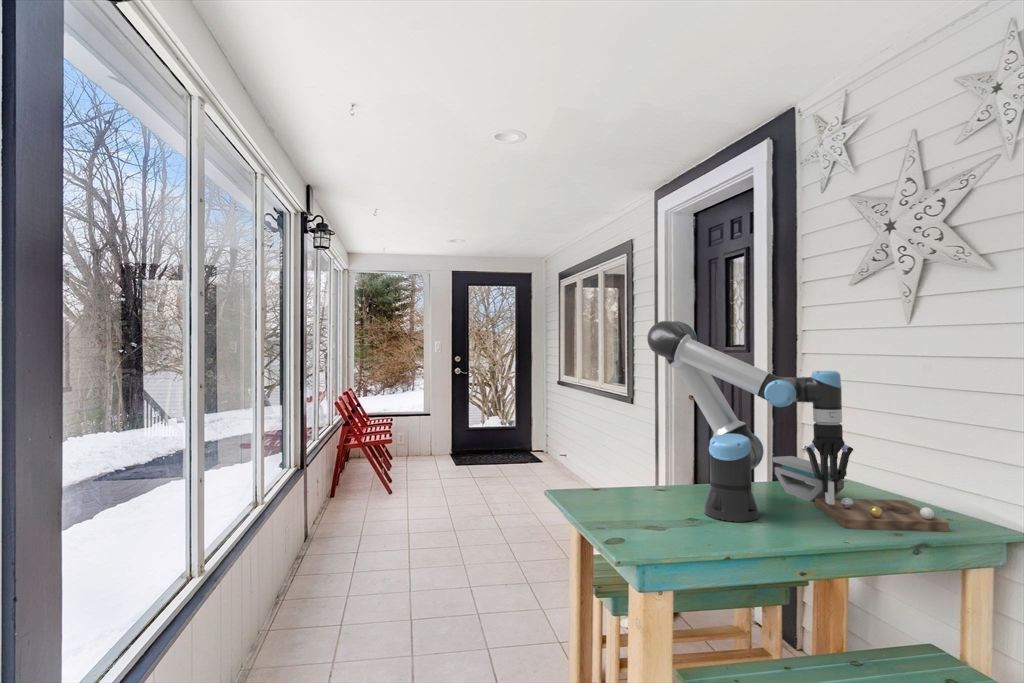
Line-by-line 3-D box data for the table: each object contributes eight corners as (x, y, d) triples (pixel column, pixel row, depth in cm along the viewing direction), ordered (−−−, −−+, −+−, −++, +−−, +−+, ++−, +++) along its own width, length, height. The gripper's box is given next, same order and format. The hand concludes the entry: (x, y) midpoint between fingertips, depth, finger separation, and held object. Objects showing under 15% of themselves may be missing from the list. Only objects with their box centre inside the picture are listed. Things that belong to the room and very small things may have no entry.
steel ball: (843, 509, 167) (843, 498, 167) (839, 506, 170) (838, 496, 170) (855, 510, 167) (855, 499, 167) (850, 507, 170) (850, 496, 170)
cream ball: (923, 520, 156) (923, 509, 156) (917, 517, 159) (917, 505, 159) (936, 521, 156) (936, 509, 156) (930, 517, 159) (929, 506, 159)
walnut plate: (845, 528, 158) (845, 519, 158) (815, 505, 180) (814, 498, 180) (948, 531, 155) (948, 522, 155) (905, 508, 176) (904, 500, 176)
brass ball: (872, 519, 158) (872, 507, 158) (867, 515, 161) (866, 504, 161) (885, 519, 158) (884, 507, 158) (879, 516, 161) (879, 504, 161)
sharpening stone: (847, 505, 180) (846, 470, 180) (825, 507, 179) (824, 472, 179) (792, 486, 205) (791, 455, 205) (772, 487, 203) (772, 457, 203)
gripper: (808, 424, 166) (811, 506, 166) (857, 424, 164) (859, 507, 164) (799, 421, 174) (802, 499, 174) (846, 421, 172) (848, 500, 172)
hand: (830, 503), depth 169 cm, fingers closed
